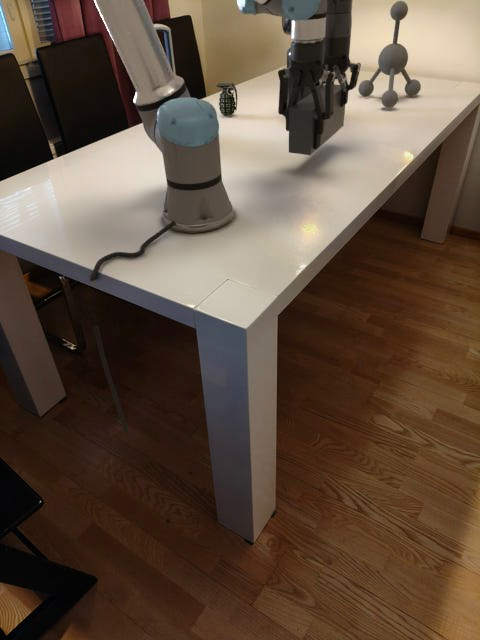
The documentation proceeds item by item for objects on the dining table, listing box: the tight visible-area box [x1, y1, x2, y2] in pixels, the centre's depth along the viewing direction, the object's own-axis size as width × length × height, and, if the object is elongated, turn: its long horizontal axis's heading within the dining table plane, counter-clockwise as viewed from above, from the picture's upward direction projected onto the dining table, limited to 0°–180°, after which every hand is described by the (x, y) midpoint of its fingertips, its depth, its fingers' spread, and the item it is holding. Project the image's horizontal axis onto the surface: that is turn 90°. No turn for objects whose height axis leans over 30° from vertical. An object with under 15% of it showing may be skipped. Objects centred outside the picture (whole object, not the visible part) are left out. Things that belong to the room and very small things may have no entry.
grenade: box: [215, 82, 238, 117], centre depth 166 cm, size 7×6×10 cm
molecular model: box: [358, 0, 422, 109], centre depth 166 cm, size 24×22×30 cm
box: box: [288, 83, 346, 156], centre depth 125 cm, size 25×6×10 cm, turn 152°
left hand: (304, 145), depth 122 cm, fingers closed on box, 6 cm apart
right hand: (331, 104), depth 131 cm, fingers closed on box, 6 cm apart
